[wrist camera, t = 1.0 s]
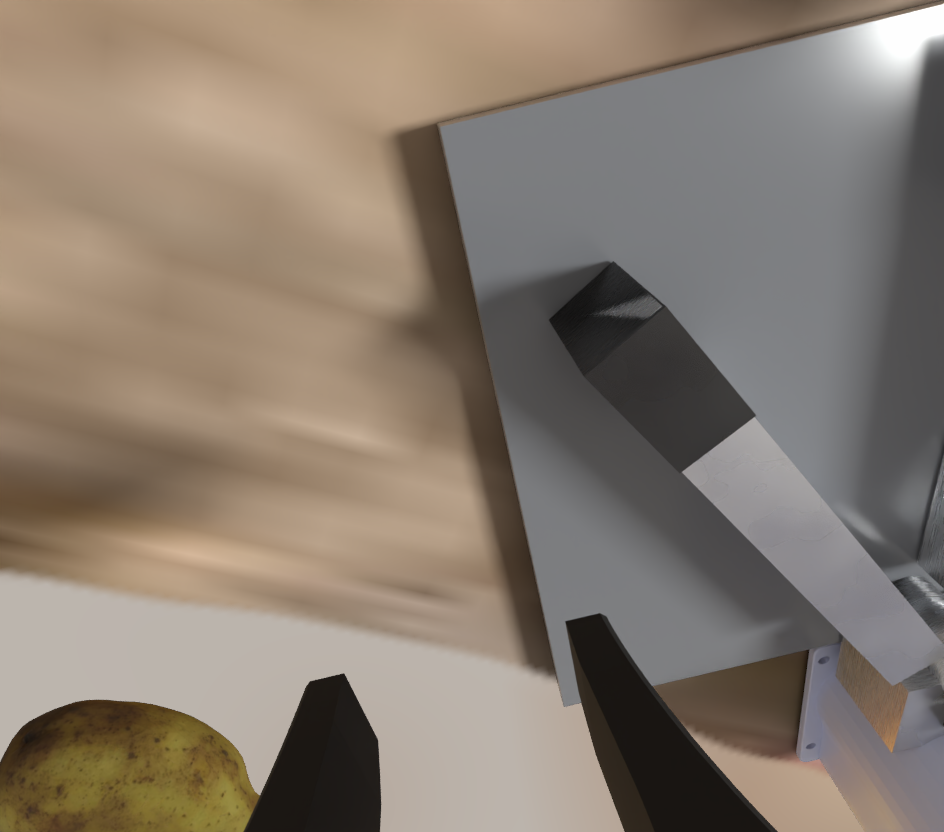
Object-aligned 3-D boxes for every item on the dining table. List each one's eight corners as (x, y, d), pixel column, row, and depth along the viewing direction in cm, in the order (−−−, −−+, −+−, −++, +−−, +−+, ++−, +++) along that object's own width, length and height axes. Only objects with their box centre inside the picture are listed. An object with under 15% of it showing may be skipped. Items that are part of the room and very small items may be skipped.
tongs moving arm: (881, 578, 24) (954, 655, 20) (829, 610, 24) (893, 689, 21) (613, 260, 16) (665, 306, 13) (548, 320, 17) (583, 376, 13)
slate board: (973, 584, 26) (997, 605, 25) (557, 682, 27) (563, 706, 26) (1179, -58, 15) (1238, -68, 14) (436, 123, 15) (439, 127, 14)
